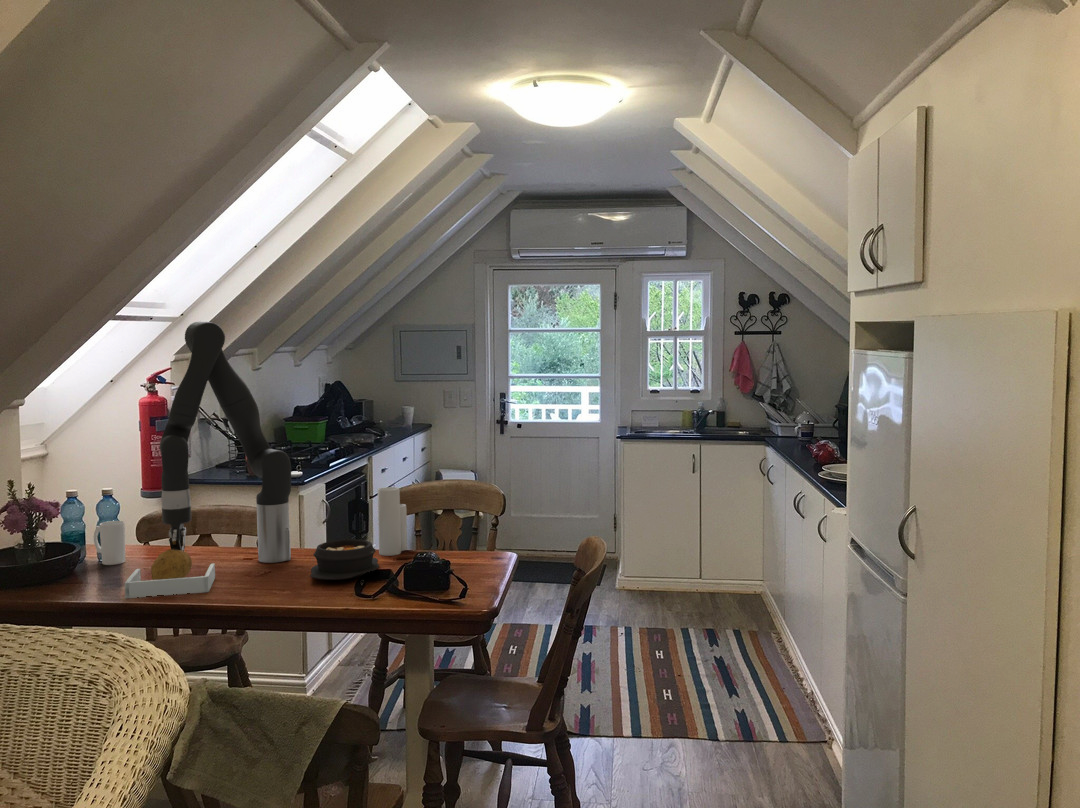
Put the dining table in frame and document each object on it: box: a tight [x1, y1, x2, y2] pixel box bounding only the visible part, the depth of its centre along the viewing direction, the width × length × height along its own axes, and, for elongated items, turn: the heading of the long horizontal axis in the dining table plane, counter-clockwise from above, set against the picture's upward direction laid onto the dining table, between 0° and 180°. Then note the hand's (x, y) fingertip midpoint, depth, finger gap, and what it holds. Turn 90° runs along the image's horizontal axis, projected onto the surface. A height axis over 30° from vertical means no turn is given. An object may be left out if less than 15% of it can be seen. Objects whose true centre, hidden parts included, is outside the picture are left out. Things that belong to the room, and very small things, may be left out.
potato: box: [150, 548, 193, 580], centre depth 233 cm, size 10×13×9 cm
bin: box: [124, 563, 216, 600], centre depth 230 cm, size 20×15×4 cm
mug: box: [93, 520, 126, 566], centre depth 259 cm, size 10×7×12 cm, turn 75°
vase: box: [377, 486, 408, 557], centre depth 268 cm, size 11×7×20 cm, turn 169°
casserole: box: [309, 538, 380, 581], centre depth 241 cm, size 25×19×8 cm
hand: (179, 566), depth 242 cm, fingers closed
